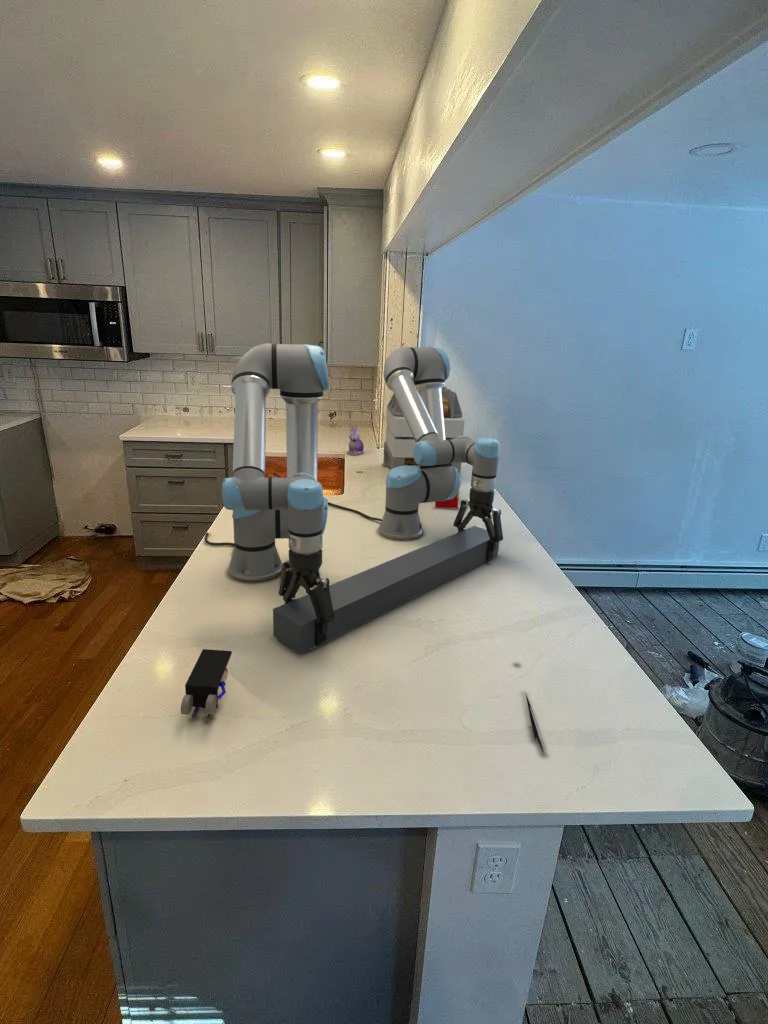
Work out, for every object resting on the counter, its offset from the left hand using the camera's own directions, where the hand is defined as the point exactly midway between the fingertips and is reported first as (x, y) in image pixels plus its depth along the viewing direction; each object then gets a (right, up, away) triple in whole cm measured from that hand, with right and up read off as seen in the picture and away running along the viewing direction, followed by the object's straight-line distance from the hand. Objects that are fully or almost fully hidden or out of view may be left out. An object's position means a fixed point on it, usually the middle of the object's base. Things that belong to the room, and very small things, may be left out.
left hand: (305, 633), depth 135 cm
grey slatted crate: (+36, +48, +140) cm, 152 cm away
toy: (+43, +35, +106) cm, 119 cm away
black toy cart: (-16, -9, -22) cm, 29 cm away
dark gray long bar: (+24, +7, +25) cm, 35 cm away
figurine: (+3, +61, +172) cm, 182 cm away
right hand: (+48, +15, +49) cm, 70 cm away
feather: (+48, -10, -19) cm, 53 cm away
